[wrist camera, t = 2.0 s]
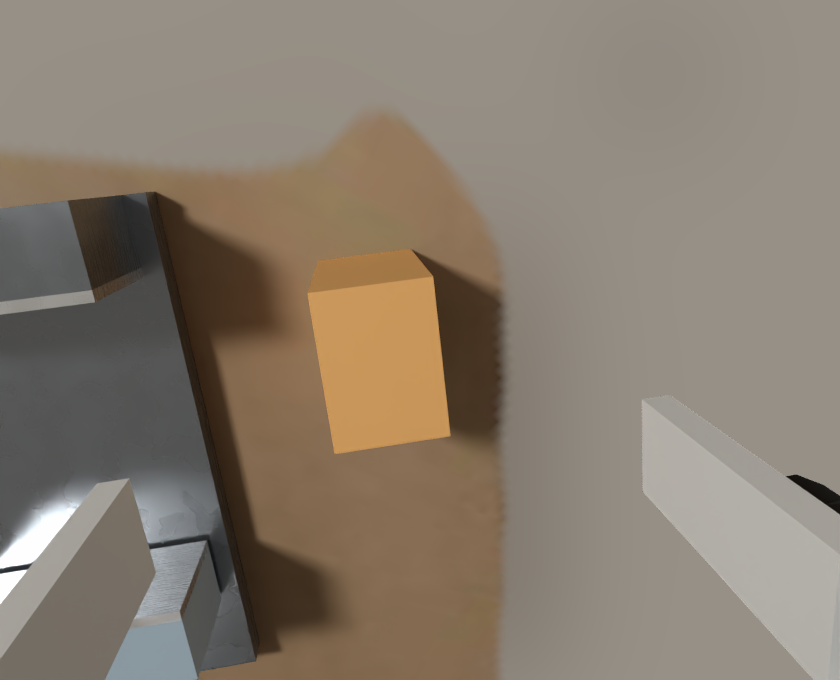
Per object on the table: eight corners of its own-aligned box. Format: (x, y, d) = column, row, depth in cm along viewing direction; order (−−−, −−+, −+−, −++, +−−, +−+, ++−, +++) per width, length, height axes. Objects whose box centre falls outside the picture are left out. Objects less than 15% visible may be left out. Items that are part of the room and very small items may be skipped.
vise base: (259, 642, 38) (238, 752, 31) (30, 683, 37) (-47, 807, 30) (155, 191, 30) (94, 197, 23) (-141, 226, 29) (-301, 243, 22)
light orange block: (424, 370, 34) (450, 436, 26) (338, 382, 34) (334, 454, 25) (410, 248, 32) (433, 276, 24) (318, 260, 32) (307, 293, 23)
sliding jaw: (221, 599, 35) (197, 678, 29) (6, 636, 34) (-60, 725, 28) (206, 540, 34) (179, 611, 28) (-16, 576, 33) (-90, 657, 27)
